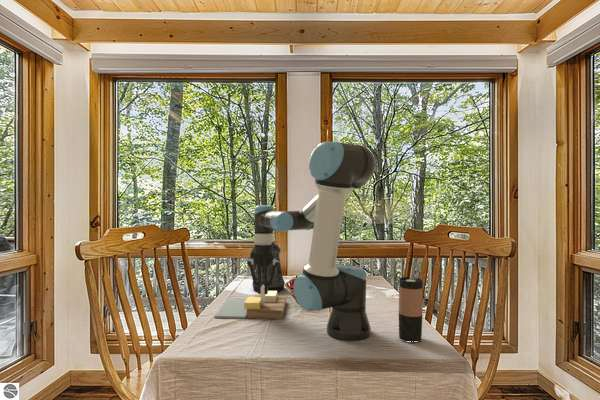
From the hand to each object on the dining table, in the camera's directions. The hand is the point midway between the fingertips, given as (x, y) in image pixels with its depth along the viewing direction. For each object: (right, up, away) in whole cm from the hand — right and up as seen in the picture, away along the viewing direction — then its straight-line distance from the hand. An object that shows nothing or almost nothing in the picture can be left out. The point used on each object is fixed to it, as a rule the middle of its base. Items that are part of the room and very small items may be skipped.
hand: (262, 302), depth 152 cm
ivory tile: (+2, -2, +11) cm, 11 cm away
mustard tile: (-4, -2, 0) cm, 4 cm away
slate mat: (-12, -5, +6) cm, 14 cm away
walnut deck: (+2, -5, +5) cm, 7 cm away
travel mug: (+52, -6, -26) cm, 58 cm away
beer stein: (-2, -5, +40) cm, 41 cm away
